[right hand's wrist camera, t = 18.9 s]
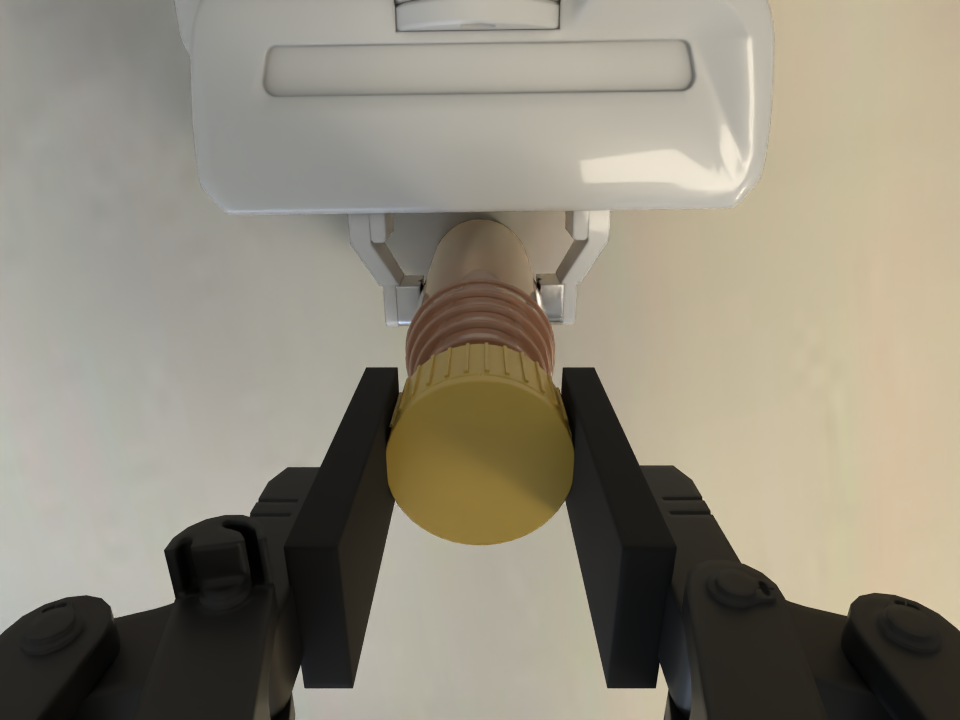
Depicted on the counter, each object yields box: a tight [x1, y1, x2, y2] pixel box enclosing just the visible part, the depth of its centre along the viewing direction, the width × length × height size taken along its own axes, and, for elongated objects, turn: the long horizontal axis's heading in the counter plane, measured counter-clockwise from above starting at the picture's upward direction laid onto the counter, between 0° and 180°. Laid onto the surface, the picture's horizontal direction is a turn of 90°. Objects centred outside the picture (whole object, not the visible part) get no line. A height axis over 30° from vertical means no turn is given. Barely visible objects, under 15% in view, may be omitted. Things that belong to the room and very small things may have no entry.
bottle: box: [405, 219, 555, 378], centre depth 22 cm, size 5×5×18 cm
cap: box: [386, 342, 574, 545], centre depth 14 cm, size 4×4×2 cm
